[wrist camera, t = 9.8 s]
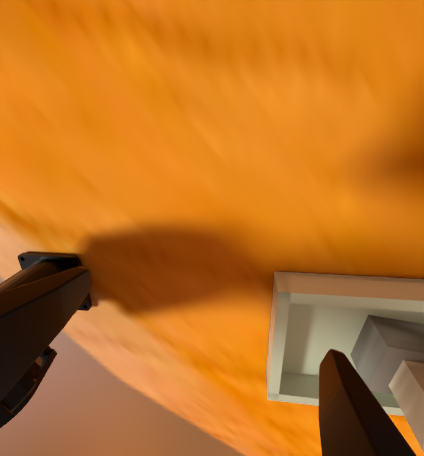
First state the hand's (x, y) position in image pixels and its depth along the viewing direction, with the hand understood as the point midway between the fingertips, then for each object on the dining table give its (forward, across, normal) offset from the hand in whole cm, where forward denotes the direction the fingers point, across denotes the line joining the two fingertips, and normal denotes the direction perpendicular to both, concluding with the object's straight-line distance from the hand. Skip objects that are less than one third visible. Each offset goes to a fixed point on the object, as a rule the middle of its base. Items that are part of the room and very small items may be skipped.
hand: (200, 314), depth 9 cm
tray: (+13, -13, +11) cm, 22 cm away
